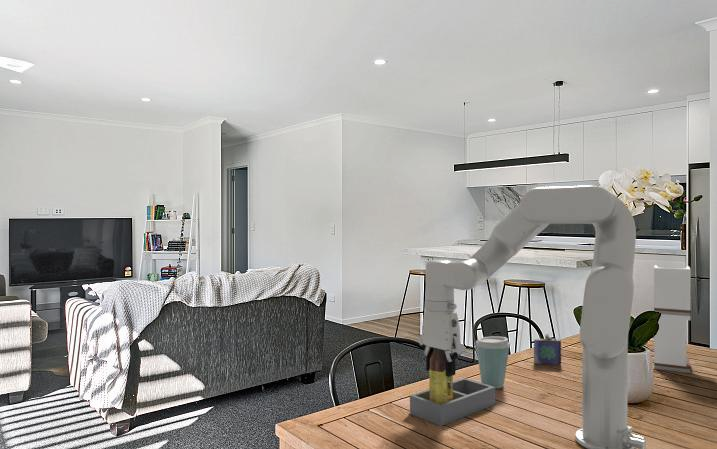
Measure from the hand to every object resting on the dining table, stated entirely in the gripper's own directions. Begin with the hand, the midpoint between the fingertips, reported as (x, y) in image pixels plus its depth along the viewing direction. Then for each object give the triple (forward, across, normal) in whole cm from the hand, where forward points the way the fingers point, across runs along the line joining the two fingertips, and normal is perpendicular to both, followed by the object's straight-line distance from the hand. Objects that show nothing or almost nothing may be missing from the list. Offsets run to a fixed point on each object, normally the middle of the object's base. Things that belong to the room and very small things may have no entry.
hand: (440, 372), depth 140 cm
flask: (+12, +6, -64) cm, 66 cm away
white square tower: (+12, -24, -94) cm, 98 cm away
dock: (+11, 0, -5) cm, 13 cm away
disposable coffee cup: (+12, +5, -30) cm, 33 cm away
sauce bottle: (+10, 0, 0) cm, 10 cm away
